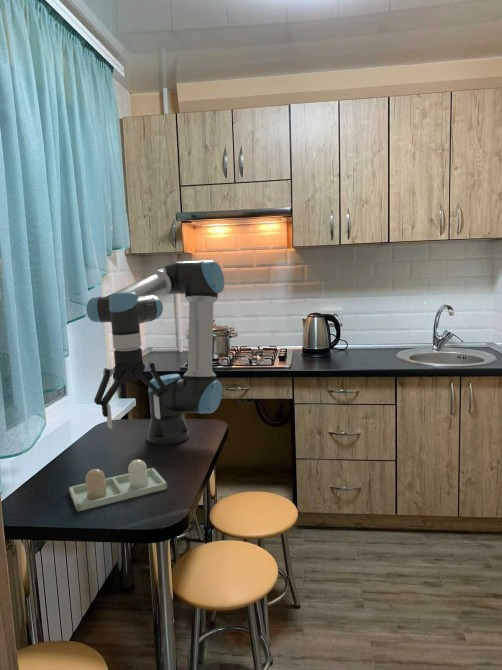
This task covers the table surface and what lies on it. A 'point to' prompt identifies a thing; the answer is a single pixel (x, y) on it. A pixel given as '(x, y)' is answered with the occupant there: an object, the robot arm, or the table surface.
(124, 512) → the table surface
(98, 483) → the egg brown
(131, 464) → the egg white
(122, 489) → the green divided tray
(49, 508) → the table surface
